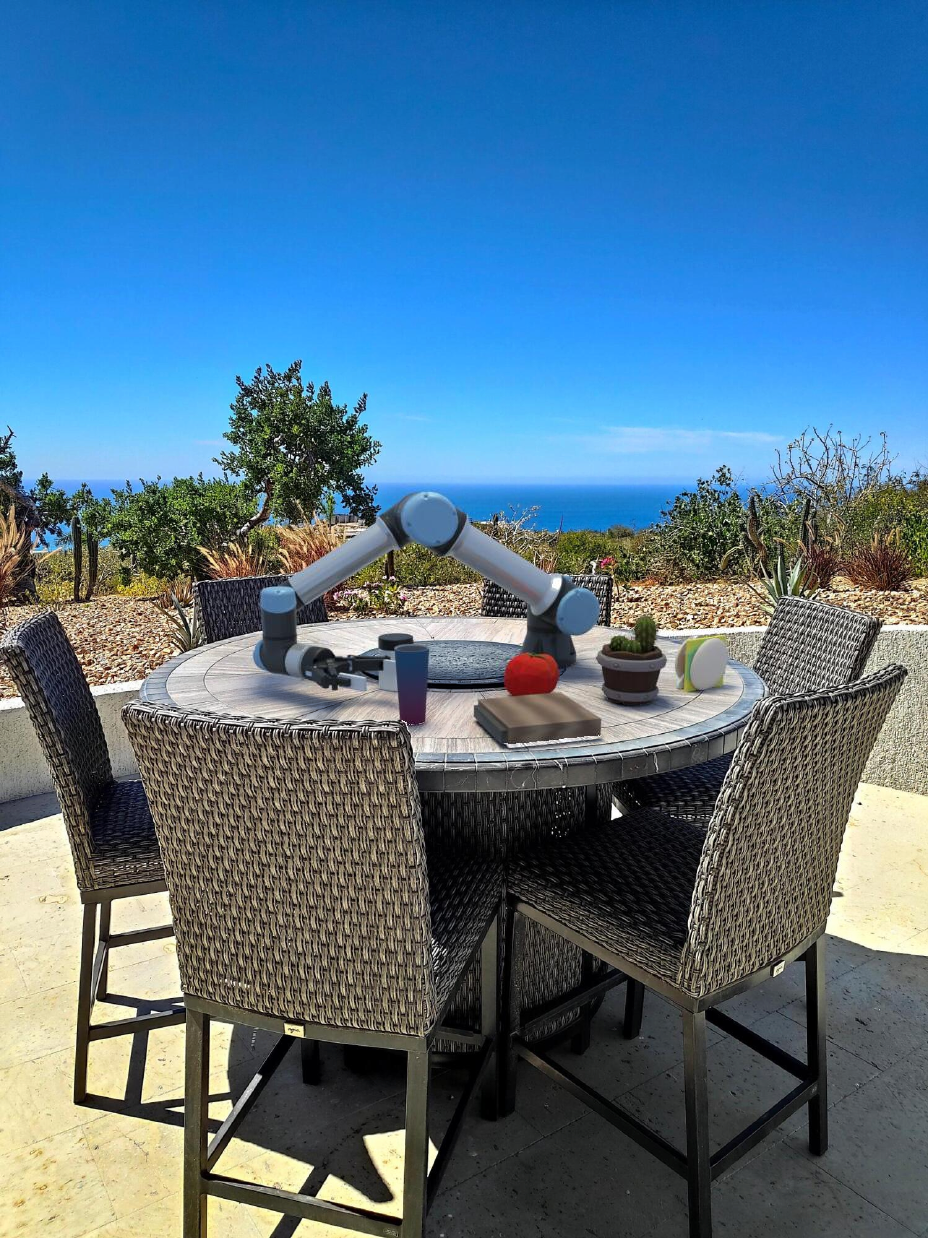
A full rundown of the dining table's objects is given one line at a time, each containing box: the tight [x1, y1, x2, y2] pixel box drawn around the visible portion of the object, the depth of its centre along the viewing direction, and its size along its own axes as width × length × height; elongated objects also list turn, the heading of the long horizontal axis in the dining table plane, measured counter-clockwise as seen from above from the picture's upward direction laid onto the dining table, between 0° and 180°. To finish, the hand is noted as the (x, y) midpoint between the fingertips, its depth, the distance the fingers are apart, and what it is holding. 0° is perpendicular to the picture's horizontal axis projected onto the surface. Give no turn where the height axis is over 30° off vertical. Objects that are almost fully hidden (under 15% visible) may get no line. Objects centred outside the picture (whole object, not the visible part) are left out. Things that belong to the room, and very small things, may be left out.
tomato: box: [503, 652, 560, 697], centre depth 158 cm, size 11×13×10 cm
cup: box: [394, 643, 430, 726], centre depth 141 cm, size 7×7×15 cm
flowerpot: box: [595, 610, 668, 707], centre depth 155 cm, size 14×15×20 cm
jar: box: [377, 632, 415, 693], centre depth 166 cm, size 9×8×12 cm
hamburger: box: [674, 634, 729, 693], centre depth 167 cm, size 12×8×12 cm
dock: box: [473, 691, 602, 744], centre depth 137 cm, size 19×18×4 cm
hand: (388, 677), depth 143 cm, fingers open, 13 cm apart
